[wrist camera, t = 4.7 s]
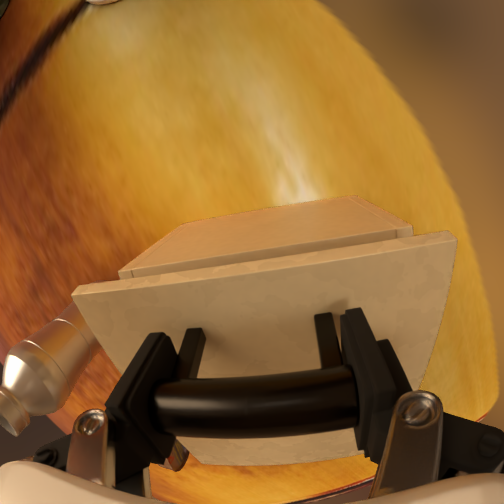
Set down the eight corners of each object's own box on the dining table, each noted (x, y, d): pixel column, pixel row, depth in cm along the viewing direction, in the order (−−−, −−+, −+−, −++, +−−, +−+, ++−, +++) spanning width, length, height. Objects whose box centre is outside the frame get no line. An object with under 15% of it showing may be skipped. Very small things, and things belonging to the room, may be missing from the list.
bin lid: (78, 285, 12) (15, 368, 7) (448, 230, 9) (531, 317, 4) (203, 456, 20) (194, 508, 15) (389, 439, 18) (399, 493, 13)
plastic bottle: (146, 298, 29) (34, 437, 10) (124, 334, 31) (32, 457, 12) (102, 262, 29) (-34, 366, 10) (84, 301, 31) (-23, 403, 12)
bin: (182, 223, 26) (117, 271, 15) (355, 194, 24) (413, 225, 13) (225, 373, 32) (203, 456, 20) (363, 357, 29) (389, 439, 18)
